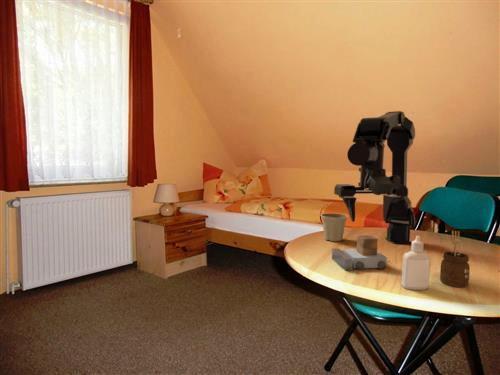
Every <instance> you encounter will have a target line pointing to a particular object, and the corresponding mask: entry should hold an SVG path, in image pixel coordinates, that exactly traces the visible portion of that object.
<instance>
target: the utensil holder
mask: <svg viewBox="0 0 500 375" xmlns="http://www.w3.org/2000/svg"><path fill="white" fill-rule="evenodd" d="M459 244H460V245H459ZM458 245H459V246H460V247H457V246H458ZM451 247H452V248H453V249H451V251H445V252H443V255H442V258H443V259H442V260H441V263H440V270H439V271H440V272H439V280H440V282H441V283H442V284H444V285H446V286H449V287H455V288H466V287H468V285H469V282H470V281H469V280H470V271H471V270H470V264H469V261H470V260H469V258H470V257H469V255H468V254H466V253H463V250H464V249H463V241H462V240H460V231H459V230H458V231H456V230H455V231H454V230H452V231H451ZM458 248H460V250H459V251H458Z"/></svg>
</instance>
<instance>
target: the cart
mask: <svg viewBox="0 0 500 375" xmlns="http://www.w3.org/2000/svg"><path fill="white" fill-rule="evenodd" d="M342 251H343V252H344V253H345V254H347V255H348V256H349V257H350V258H352V259H353V263H352V269H357V270H363V269H380V270H385V269H386V268H387V262H388V261H387V260H388V257H387V256H385V255H384V254H382V253H380V252H379V251H377V255H361V254H360V253H358V252H357V248H355V249H353V248H351V249H349V248H348V249H342Z"/></svg>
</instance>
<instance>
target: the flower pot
mask: <svg viewBox="0 0 500 375" xmlns="http://www.w3.org/2000/svg"><path fill="white" fill-rule="evenodd" d="M320 217H321V220H322V229H323V237H324V240H325V241H330V242H340V241H343V238H344V233H345V228H346V227H345V226H346V222H347V219H348V218H349V216H348V215H347V214H344V213H336V212H328V213H327V212H326V213H320Z"/></svg>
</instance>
